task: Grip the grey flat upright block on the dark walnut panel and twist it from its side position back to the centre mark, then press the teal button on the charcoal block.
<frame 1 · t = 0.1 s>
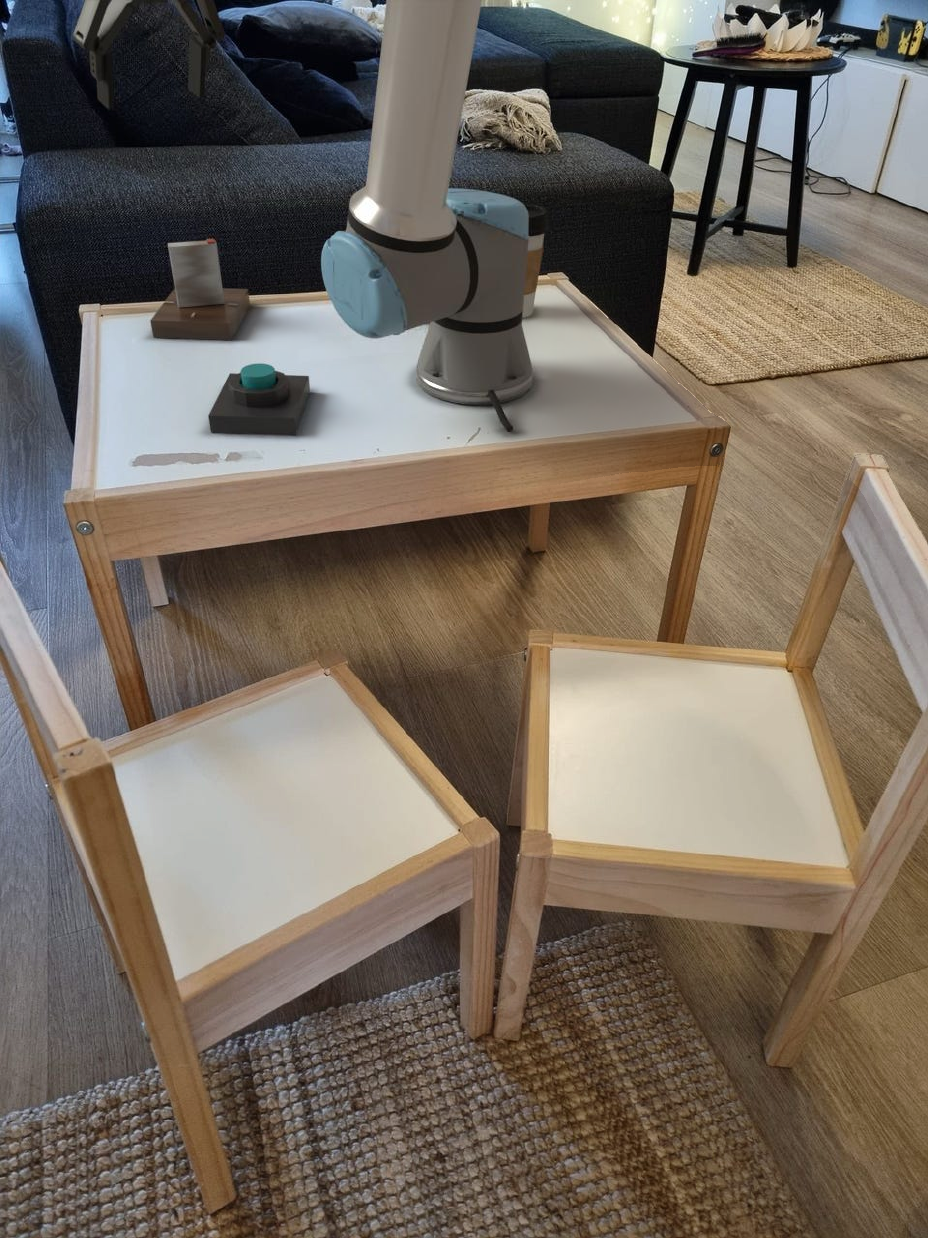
hand: (152, 98, 123), 28 cm above the table, tool tilted 20°, fingers open, 13 cm apart
button block: (262, 411, 113), on the table
coffee cup: (513, 312, 142), on the table
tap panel: (203, 320, 136), on the table
cheeseburger: (422, 314, 141), on the table
start button: (258, 376, 110), point 4 cm above the table, slide at 0.1 cm
grey flat upright block: (196, 273, 131), point 7 cm above the table, hinge at -70.0°
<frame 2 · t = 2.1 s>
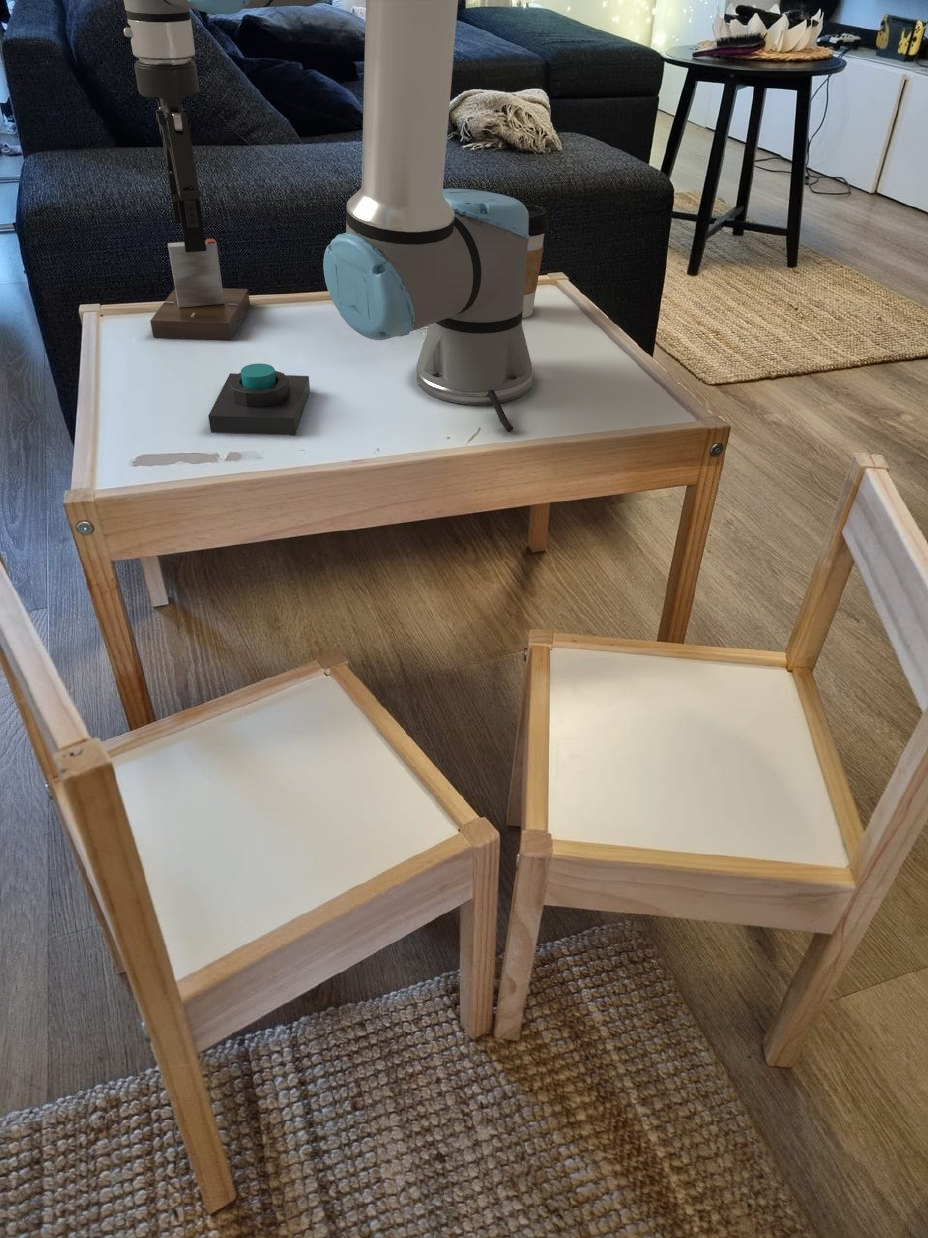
hand: (190, 235, 128), 12 cm above the table, tool pointing down, fingers open, 13 cm apart
nothing on the table moved.
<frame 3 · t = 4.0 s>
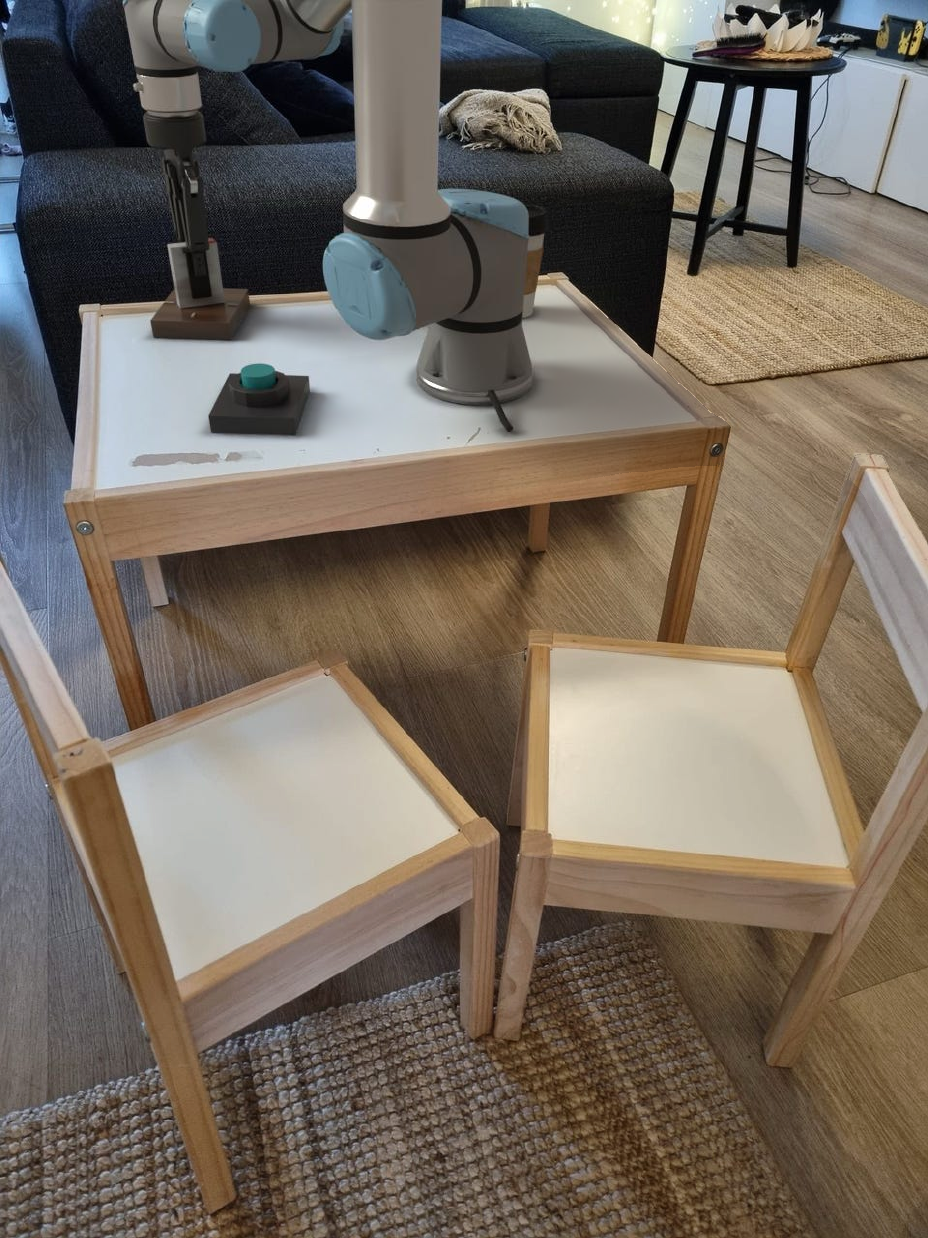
hand: (199, 293, 133), 4 cm above the table, tool pointing down, fingers closed on grey flat upright block, 2 cm apart
grey flat upright block: (196, 273, 131), point 7 cm above the table, hinge at -62.1°, touching gripper
everything else where it was.
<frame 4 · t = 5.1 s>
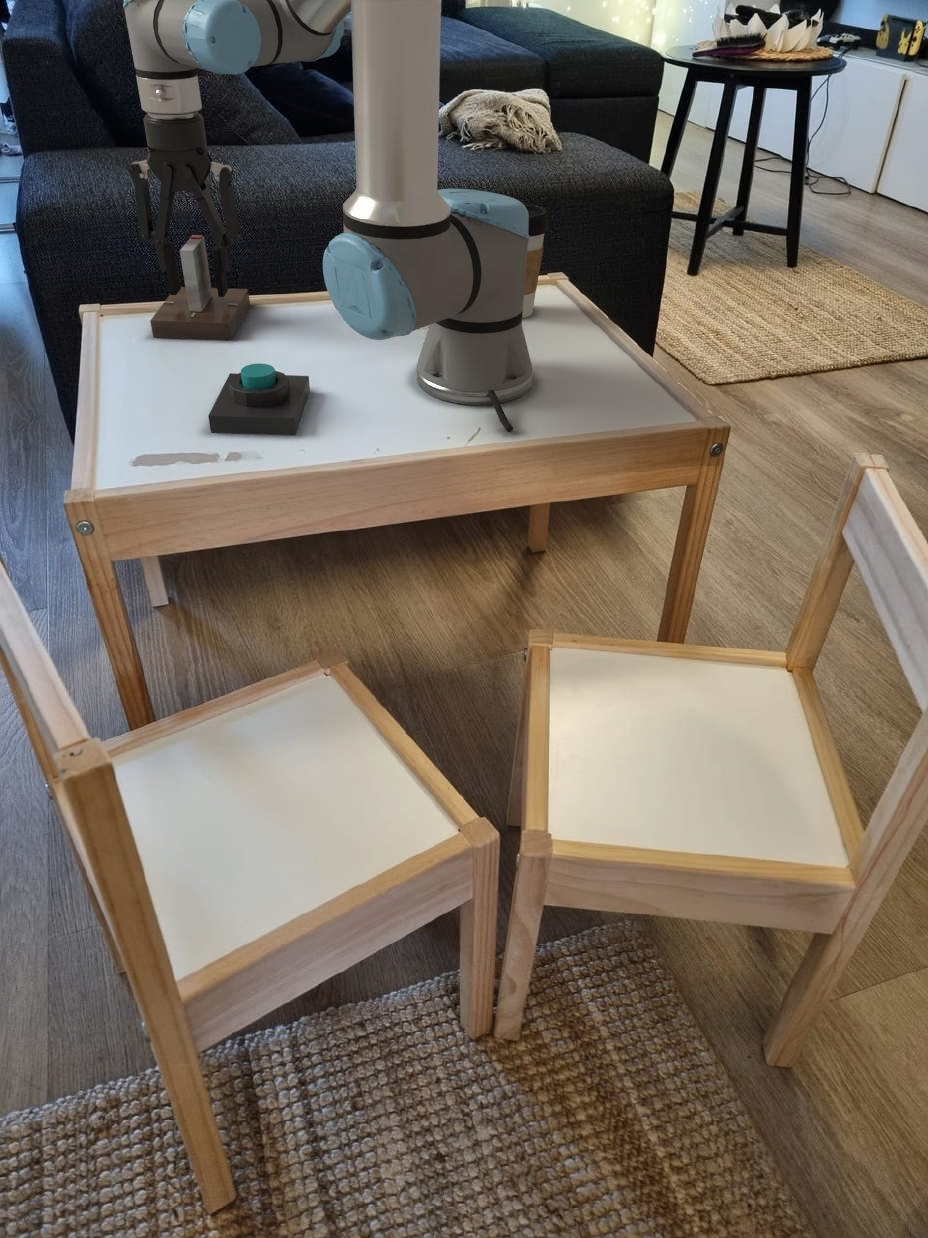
hand: (199, 292, 133), 4 cm above the table, tool pointing down, fingers open, 6 cm apart
grey flat upright block: (196, 273, 131), point 7 cm above the table, hinge at -0.6°
everything else where it was.
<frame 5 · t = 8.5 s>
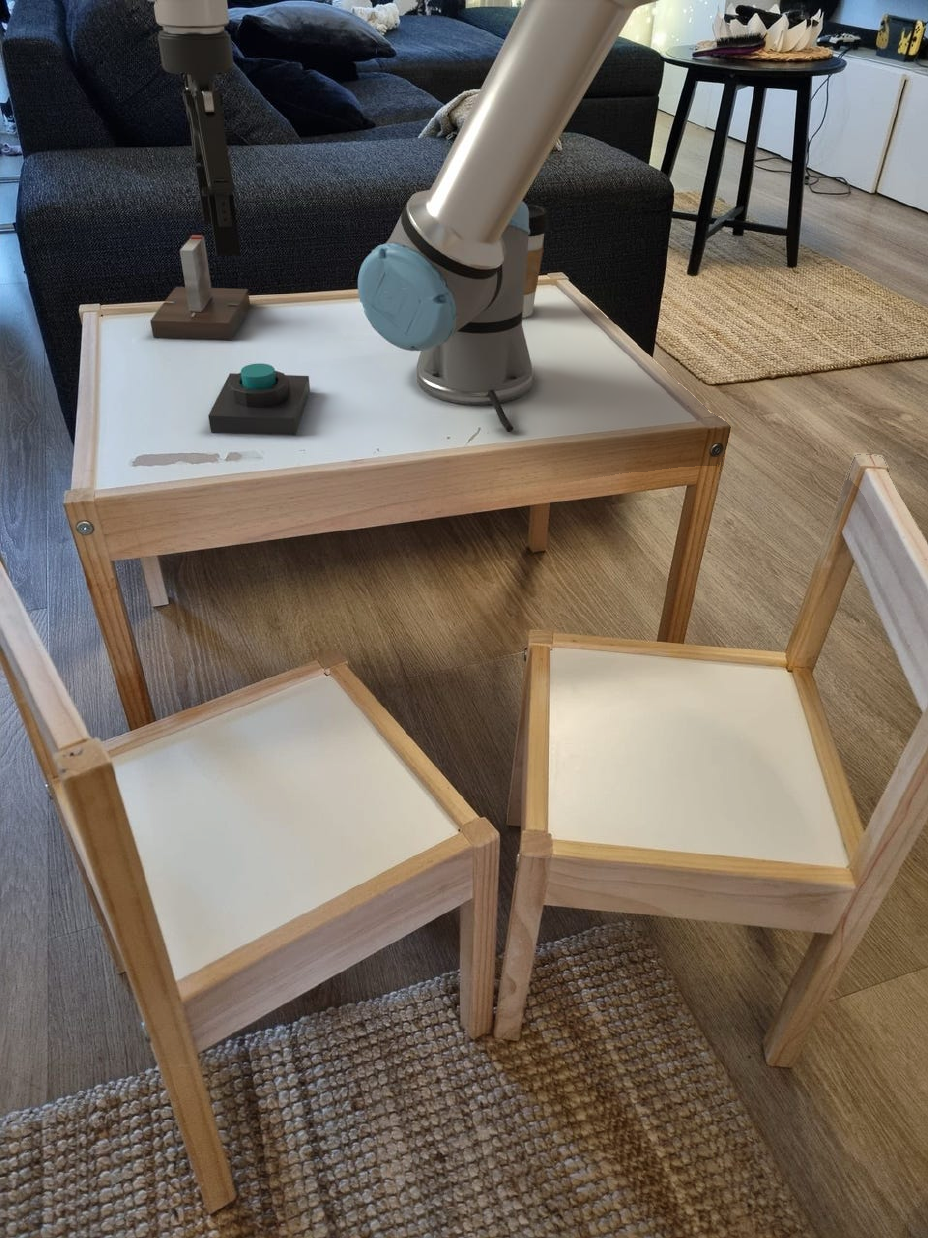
hand: (221, 237, 111), 17 cm above the table, tool pointing down, fingers open, 13 cm apart
nothing on the table moved.
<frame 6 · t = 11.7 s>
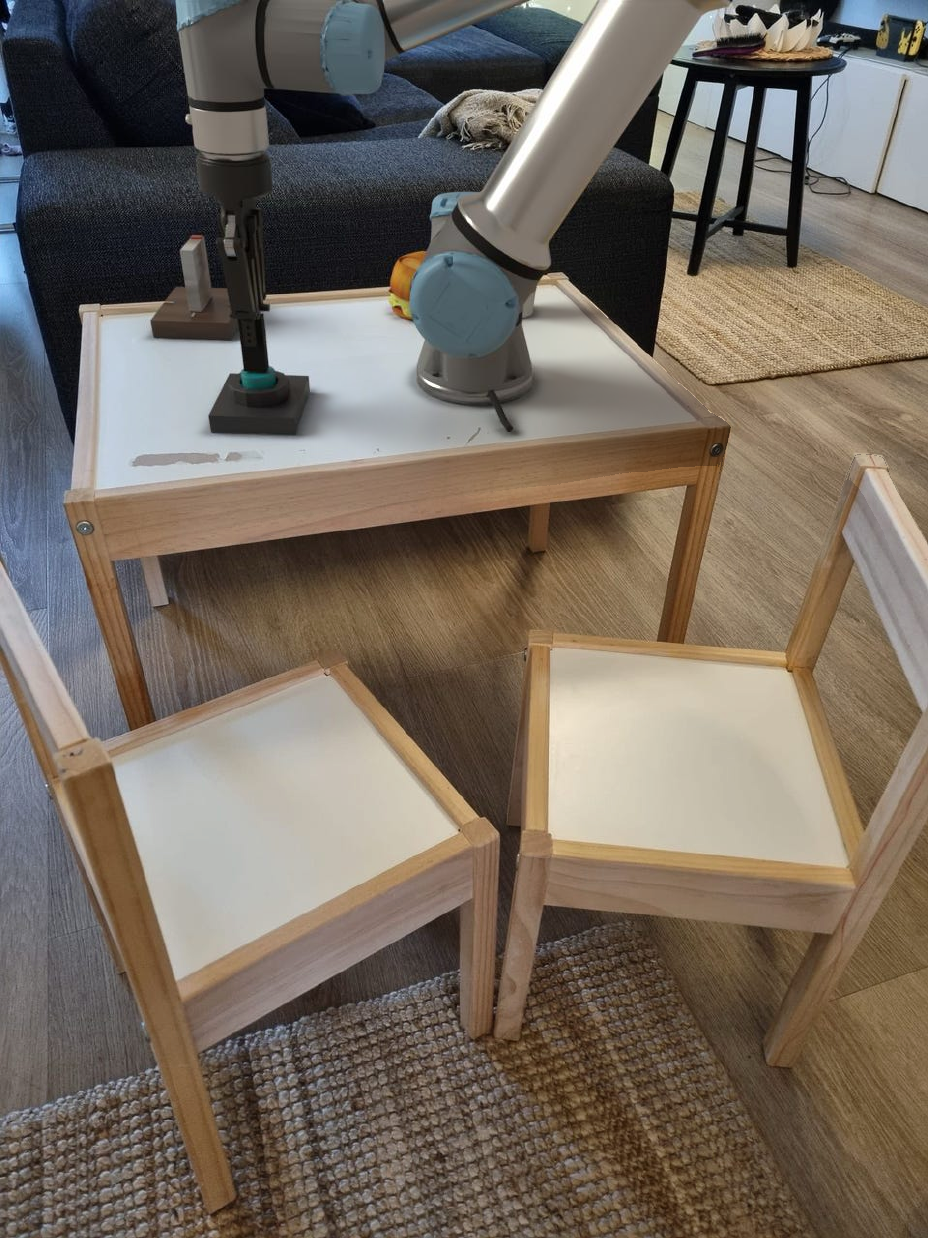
hand: (256, 368, 110), 5 cm above the table, tool pointing down, fingers closed
start button: (258, 377, 110), point 4 cm above the table, slide at 0.0 cm, touching gripper
everything else where it was.
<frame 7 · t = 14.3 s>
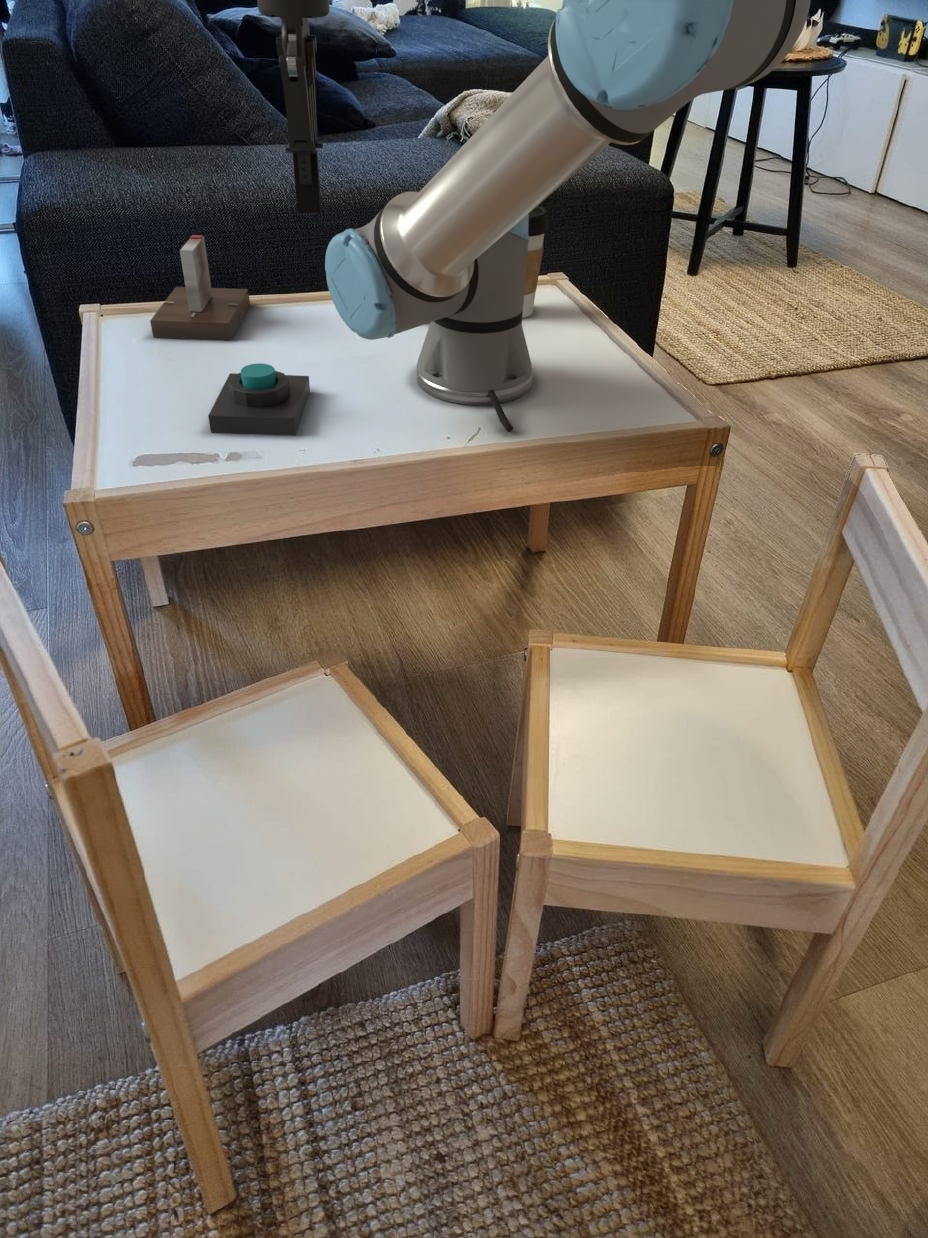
hand: (309, 210, 110), 20 cm above the table, tool pointing down, fingers closed
start button: (258, 376, 110), point 4 cm above the table, slide at 0.1 cm
everything else where it was.
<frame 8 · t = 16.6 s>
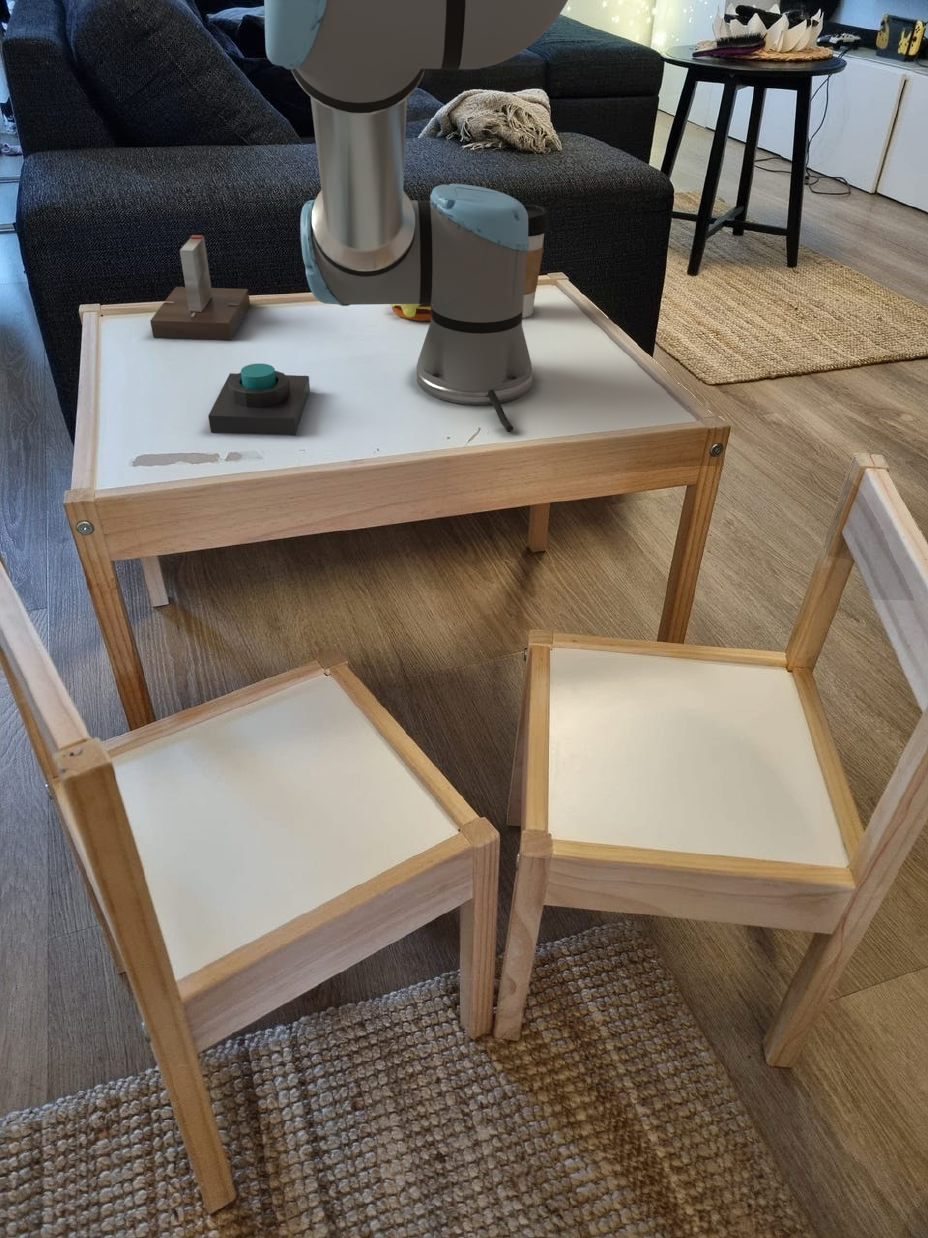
hand: (364, 149, 118), 24 cm above the table, tool pointing down, fingers closed
nothing on the table moved.
at the end: grey flat upright block at -1° (first picture: -70°); start button pushed in 1.0 cm at the most during the clip, back to where it started at the end; start button slide at 0.1 cm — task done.
